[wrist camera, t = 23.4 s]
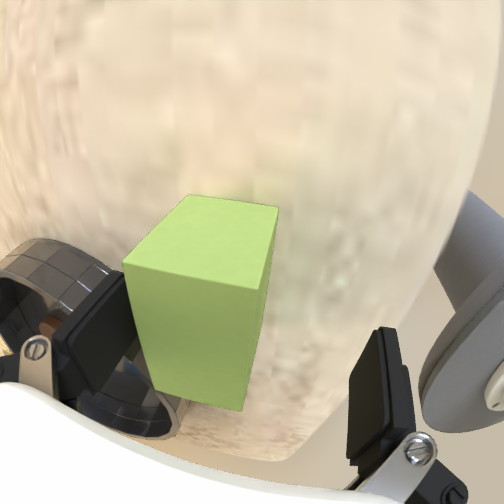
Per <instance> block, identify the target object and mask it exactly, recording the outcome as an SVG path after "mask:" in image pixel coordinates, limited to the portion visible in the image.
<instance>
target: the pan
mask: <svg viewBox="0 0 504 504" xmlns="http://www.w3.org/2000/svg"><path fill="white" fill-rule="evenodd" d="M111 271H113V270H111V269H110V268H108V267H107V266H105V265H104V264H102V263H101V262H100V261H98V260H97V259H95V258H93V257H91V256H90V255H88V254H86V253H85V252H83V251H81V250H79V249H77V248H75V247H72V246H70V245H68V244H65V243H62V242H59V241H56V240H50V239H33V240H30V241H27V242H25V243H24V244H21V245H20V246H18V247H17V248H16V249H15V250H14V251H12V252H11V253H10V254H9V255H7V256H6V257H5V258H4V259H3V260H1V261H0V336H1V338H2V339H3V341H4V343H5V344H6V346H7V347H8V348H9V350H10V351H11V352H12V354H15V353H19V352H21V348H22V346H23V344H24V343H25V342H26V341H27V340H28V339H29V338H31V337H33V336H36V335H42V334H41V332H40V330H39V324H40V323H41V322H42V321H43V320H44V318H45V317H46V316H52V317H54V318H56V319H58V320H59V321H61V322H62V323H63V322H64V320H65V319H66V318H67V317H68V316H69V315H70V314H71V313H72V312H73V311H74V309H75V308H76V307H77V306H78V305H79V304H80V303H81V302H82V301H83V300H84V299H85V298H86V297H87V296H88V294H89V293H90V292H91V291H92V290H93V289H94V288H95V287H96V286H97V285H98V284H99V283H100V282H101V281H102V280H103V279H104V278H105V277H106V276H107V275H108V274H109V273H110V272H111ZM80 398H81V405H82V411H83V415H84V416H86V417H87V418H89V419H91V420H93V421H95V422H97V423H99V424H101V425H103V426H105V427H107V428H109V429H111V430H113V431H116V432H119V433H122V434H125V435H128V436H131V437H135V438H140V439H146V440H166V439H169V438H171V437H174V436H176V434H177V432H178V430H179V428H180V426H181V423H182V421H183V418H184V415H185V413H186V410H187V407H188V404H189V402H190V400H188V399H184V398H181V397H177V396H174V395H171V394H167V393H164V392H161V391H158V390H155V388H154V385H153V382H152V379H151V376H150V373H149V370H148V367H147V364H146V360H145V357H144V354H143V350H142V347H141V343H140V339H139V336H138V335H137V337H136V338H135V340H134V341H133V342H132V344H131V345H130V347H129V348H128V350H127V351H126V353H125V354H124V356H123V357H122V359H121V360H120V362H119V363H118V365H117V367H116V368H115V370H114V371H113V373H112V374H111V376H110V377H109V379H108V380H107V382H106V383H105V385H104V387H103V388H102V390H101V391H100V392H96V394H95V395H94V397H93V396H91V395H89V394H87V393H85V392H82V393H81V395H80Z"/></svg>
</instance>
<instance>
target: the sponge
mask: <svg viewBox="0 0 504 504" xmlns="http://www.w3.org/2000/svg"><path fill="white" fill-rule="evenodd" d="M278 212H279V207H273V206H267V205H261V204H254V203H247V202H240V201H233V200H226V199H219V198H211V197H203V196H195V195H187V196H186V197H185V198H184V199H183V200H182V201H181V202H180V203H179V204H178V205H177V206H176V207H175V208H174V209H173V210H172V211H171V212H170V213H169V214H167V215H166V216H165V217H164V218H163V219H162V220H161V221H160V222H159V223H158V224H157V225H156V226H155V227H154V228H153V229H152V230H151V231H150V232H149V233H148V234H147V235H146V237H145V238H144V239H143V240H142V241H141V242H140V243H139V244H138V245H137V246H136V247H135V248H134V249H133V250H132V251H131V252H130V253H129V254H128V255H127V256H126V257H125V259H124V260H123V261H122V265H123V271H124V276H125V281H126V286H127V290H128V295H129V299H130V304H131V308H132V312H133V316H134V320H135V324H136V328H137V332H138V336H139V339H140V343H141V347H142V350H143V354H144V357H145V360H146V364H147V367H148V370H149V373H150V376H151V379H152V382H153V385H154V388H155V390H158V391H161V392H164V393H167V394H171V395H174V396H177V397H181V398H184V399H188V400H192V401H195V402H199V403H203V404H207V405H211V406H215V407H220V408H224V409H229V410H233V411H238V412H241V411H242V408H243V404H244V400H245V396H246V391H247V387H248V383H249V379H250V374H251V370H252V365H253V361H254V357H255V352H256V348H257V343H258V339H259V334H260V330H261V325H262V319H263V312H264V306H265V300H266V293H267V287H268V280H269V274H270V267H271V260H272V254H273V247H274V240H275V233H276V226H277V219H278Z"/></svg>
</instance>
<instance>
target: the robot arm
mask: <svg viewBox="0 0 504 504" xmlns="http://www.w3.org/2000/svg"><path fill="white" fill-rule="evenodd" d="M137 335H138V332H137V328H136V324H135V320H134V316H133V312H132V308H131V304H130V299H129V295H128V290H127V286H126V281H125V276H124V273H122V272H119V271H115V270H113V271H111V272H110V273H109V274H108V275H107V276H106V277H105V278H104V279H103V280H102V281H101V282H100V283H99V284H98V285H97V286H96V287H95V288H94V289H93V290H92V291H91V292H90V293H89V294H88V296H87V297H86V298H85V299H84V300H83V301H82V302H81V303H80V304H79V305H78V306H77V307H76V308H75V309H74V311H73V312H72V313H71V314H70V315H69V316H68V317H67V318H66V319H65V320H64V322H63V323H62V324H61V325H60V326H59V327H58V328H57V329H56V331H55V332H54V333H53V334H52V335H51V337H52V339H51V340H49V339H48V338H47V337H45V336H42V335H36V336H33V337H31V338H29V339H28V340H27V341H26V342H25V343H24V344H23V346H22V348H21V352H19V353H15V354H10V355H6V356H2V357H0V504H466V503H467V500H468V490H467V487H466V486H465V484H464V483H463V482H462V481H461V480H460V479H458V478H457V477H456V476H455V475H454V474H453V473H452V472H451V471H449V470H448V469H447V468H446V467H445V466H444V465H443V464H442V463H441V462H440V461H438V460H437V459H436V457H437V451H438V450H437V445H436V443H435V441H434V439H433V438H432V437H431V436H430V435H428V434H426V433H424V432H416V423H415V414H414V405H413V397H412V391H411V384H410V378H409V371H408V368H407V366H406V365H402V359H401V353H400V348H399V342H398V337H397V332H396V329H395V328H388V327H379V329H378V330H374V331H373V332H372V334H371V336H370V338H369V340H368V342H367V344H366V346H365V348H364V350H363V352H362V354H361V356H360V358H359V360H358V361H357V363H356V365H355V367H354V369H353V370H352V372H351V375H350V378H349V410H348V434H347V451H346V458H347V459H350V466H358V474H359V475H358V476H357V477H356V478H355V479H354V480H353V481H352V482H351V483H350V484H349V485H348V486H347V487H346V488H345V489H343V490H339V489H328V488H316V487H307V486H298V485H292V484H285V483H278V482H272V481H266V480H261V479H256V478H251V477H245V476H241V475H237V474H233V473H229V472H225V471H221V470H217V469H213V468H210V467H206V466H203V465H200V464H196V463H193V462H190V461H187V460H184V459H181V458H178V457H175V456H172V455H169V454H167V453H164V452H161V451H159V450H156V449H154V448H151V447H149V446H146V445H144V444H141V443H139V442H136V441H134V440H132V439H130V438H128V437H125V436H123V435H121V434H119V433H117V432H115V431H113V430H111V429H109V428H107V427H105V426H103V425H101V424H99V423H97V422H95V421H93V420H91V419H89V418H87V417H86V416H84V415H83V411H82V405H81V398H80V395H81V393H82V392H85V393H87V394H89V395H91V396H93V397H94V395H95V394H96V392H100V391H101V390H102V388H103V387H104V385H105V383H106V382H107V380H108V379H109V377H110V376H111V374H112V373H113V371H114V370H115V368H116V367H117V365H118V363H119V362H120V360H121V359H122V357H123V356H124V354H125V353H126V351H127V350H128V348H129V347H130V345H131V344H132V342H133V341H134V340H135V338H136V337H137ZM484 398H485V401H486V405H487V407H488V408H489V409H490V410H493V411H503V410H504V360H503V362H502V363H501V364H500V365H499V367H498V368H497V369H496V371H495V372H494V373H493V375H492V377H491V378H490V380H489V382H488V384H487V386H486V389H485V393H484Z"/></svg>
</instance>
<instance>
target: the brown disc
mask: <svg viewBox="0 0 504 504" xmlns="http://www.w3.org/2000/svg"><path fill="white" fill-rule="evenodd" d="M61 324H62V322H61V321H59V320H58V319H56V318H54V317H52V316H46V317H45V318H44V320H43V321H42V322H41V323H40V324H39V330H40V332H41V334H42V336H45V337H47V338H48V339H49V340H51V339H52V337H51V335H52V334H53V333H54V332H55V331H56V329H57V328H58V327H59V326H60V325H61Z"/></svg>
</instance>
